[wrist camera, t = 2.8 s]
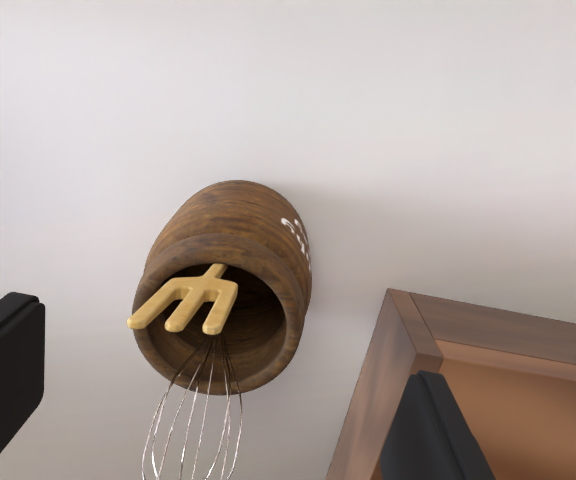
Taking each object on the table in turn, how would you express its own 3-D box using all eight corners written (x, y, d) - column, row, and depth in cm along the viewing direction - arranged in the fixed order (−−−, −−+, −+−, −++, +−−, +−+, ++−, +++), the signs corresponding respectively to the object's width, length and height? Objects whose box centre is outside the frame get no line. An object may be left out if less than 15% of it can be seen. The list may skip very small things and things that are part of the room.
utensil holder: (174, 296, 20) (34, 573, 9) (172, 162, 18) (-16, 311, 7) (301, 306, 21) (315, 589, 9) (315, 173, 18) (356, 338, 7)
